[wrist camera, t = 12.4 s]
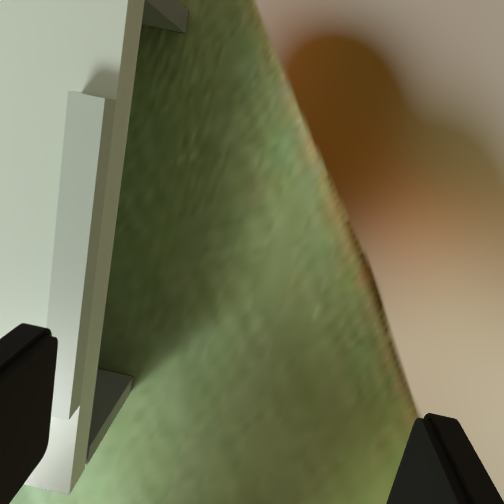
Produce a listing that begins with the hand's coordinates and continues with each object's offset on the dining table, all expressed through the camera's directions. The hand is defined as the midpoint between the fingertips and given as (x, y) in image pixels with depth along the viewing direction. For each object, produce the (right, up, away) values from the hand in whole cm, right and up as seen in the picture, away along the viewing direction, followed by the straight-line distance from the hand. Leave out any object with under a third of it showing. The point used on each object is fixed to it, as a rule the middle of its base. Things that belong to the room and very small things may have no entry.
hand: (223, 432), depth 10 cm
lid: (-9, +5, +9) cm, 14 cm away
